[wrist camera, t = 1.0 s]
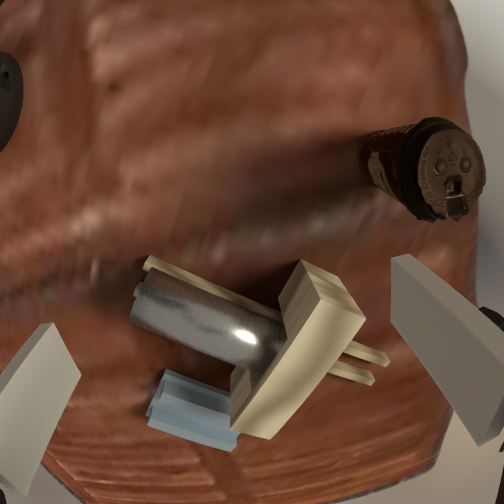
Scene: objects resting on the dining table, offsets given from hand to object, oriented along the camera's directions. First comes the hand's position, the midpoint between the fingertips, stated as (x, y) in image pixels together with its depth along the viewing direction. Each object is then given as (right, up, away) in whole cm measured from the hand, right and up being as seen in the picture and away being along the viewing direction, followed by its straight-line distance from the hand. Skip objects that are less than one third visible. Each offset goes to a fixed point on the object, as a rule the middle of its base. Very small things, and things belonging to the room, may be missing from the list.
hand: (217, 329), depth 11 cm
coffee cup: (+15, +13, +21) cm, 29 cm away
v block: (-6, -20, +31) cm, 37 cm away
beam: (+5, -7, +27) cm, 28 cm away
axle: (-1, -5, +21) cm, 22 cm away
